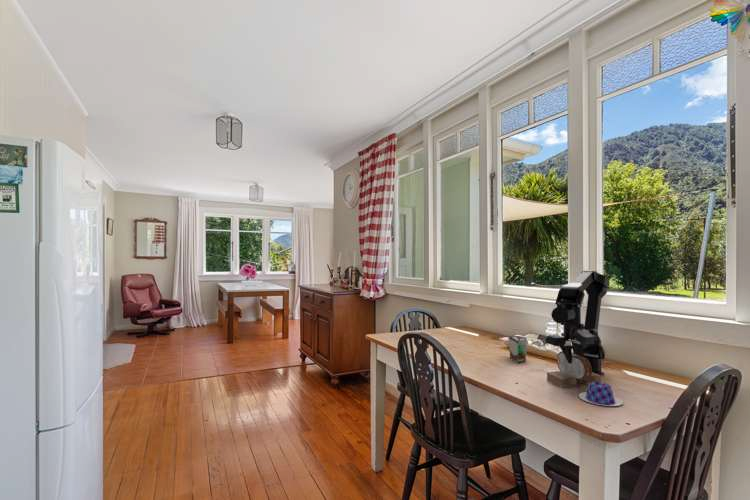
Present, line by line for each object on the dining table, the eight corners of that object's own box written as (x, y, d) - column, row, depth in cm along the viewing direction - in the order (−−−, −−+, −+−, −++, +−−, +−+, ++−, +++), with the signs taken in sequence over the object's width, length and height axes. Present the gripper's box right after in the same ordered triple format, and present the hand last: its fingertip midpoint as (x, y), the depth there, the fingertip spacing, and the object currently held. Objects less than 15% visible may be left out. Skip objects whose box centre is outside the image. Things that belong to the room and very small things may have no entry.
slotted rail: (584, 377, 140) (583, 369, 140) (601, 383, 132) (600, 375, 132) (547, 380, 136) (546, 372, 136) (562, 387, 128) (562, 378, 129)
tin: (591, 384, 127) (594, 360, 127) (583, 384, 127) (586, 359, 127) (561, 370, 142) (563, 348, 142) (554, 369, 141) (556, 348, 141)
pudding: (581, 391, 125) (581, 376, 125) (623, 399, 118) (623, 382, 118) (576, 402, 116) (575, 385, 116) (622, 411, 108) (621, 393, 109)
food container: (533, 364, 158) (532, 340, 158) (518, 364, 158) (518, 340, 158) (522, 356, 170) (521, 335, 171) (508, 356, 170) (508, 335, 171)
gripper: (565, 325, 125) (566, 371, 125) (611, 322, 129) (613, 367, 128) (544, 320, 136) (545, 362, 135) (587, 317, 140) (588, 359, 139)
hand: (573, 363), depth 134 cm, fingers closed on tin, 3 cm apart
